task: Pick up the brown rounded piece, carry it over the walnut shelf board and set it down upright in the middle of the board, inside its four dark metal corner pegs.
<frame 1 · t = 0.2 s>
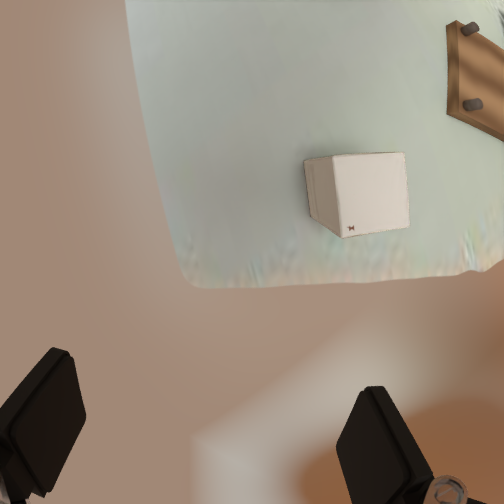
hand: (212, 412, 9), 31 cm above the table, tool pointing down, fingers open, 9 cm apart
shelf board: (483, 85, 34), on the table
supplement box: (334, 184, 38), on the table
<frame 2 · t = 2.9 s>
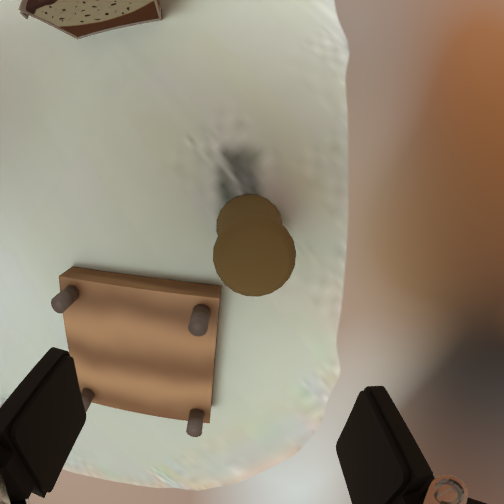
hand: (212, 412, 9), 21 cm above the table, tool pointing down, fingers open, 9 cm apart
shelf board: (142, 344, 32), on the table
food container: (120, 6, 22), on the table
brown rounded piece: (249, 226, 29), on the table
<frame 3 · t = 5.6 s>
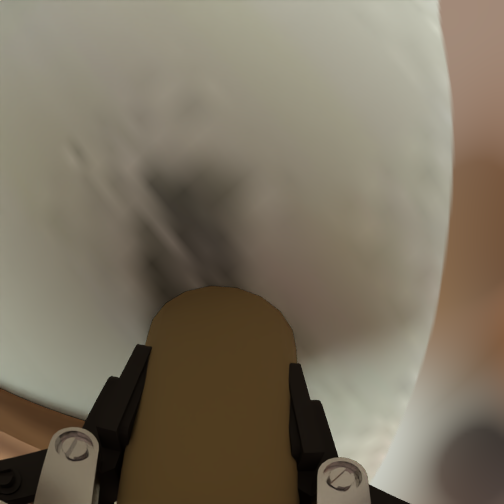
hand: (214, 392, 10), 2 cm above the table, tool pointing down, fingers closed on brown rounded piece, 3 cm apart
shelf board: (70, 477, 15), on the table
brown rounded piece: (220, 353, 12), on the table, touching gripper
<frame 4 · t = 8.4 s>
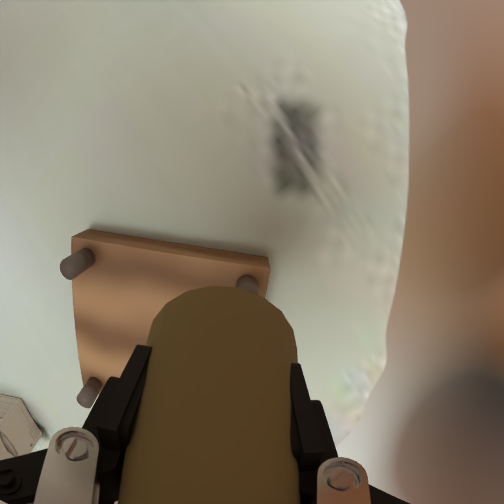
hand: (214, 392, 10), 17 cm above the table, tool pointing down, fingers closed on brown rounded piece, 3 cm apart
shelf board: (165, 326, 28), on the table
brown rounded piece: (221, 352, 12), point 14 cm above the table, touching gripper
supplement box: (18, 412, 32), on the table
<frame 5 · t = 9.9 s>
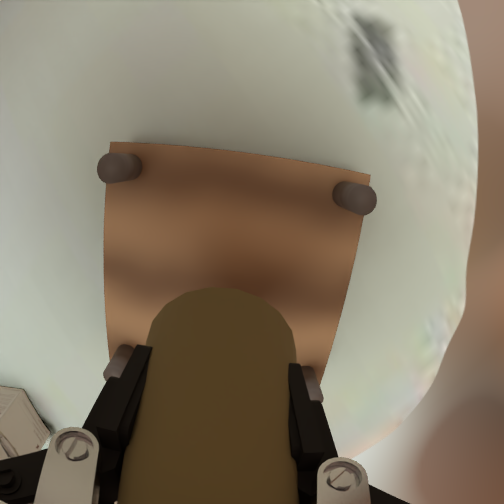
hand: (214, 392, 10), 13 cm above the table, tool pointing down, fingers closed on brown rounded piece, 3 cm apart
shelf board: (225, 268, 22), on the table
brown rounded piece: (220, 353, 12), point 11 cm above the table, touching gripper
supplement box: (19, 407, 27), on the table
when the fingers open (7 cm above the table, at t = 11.3 s): brown rounded piece drops 1 cm, resting on shelf board.
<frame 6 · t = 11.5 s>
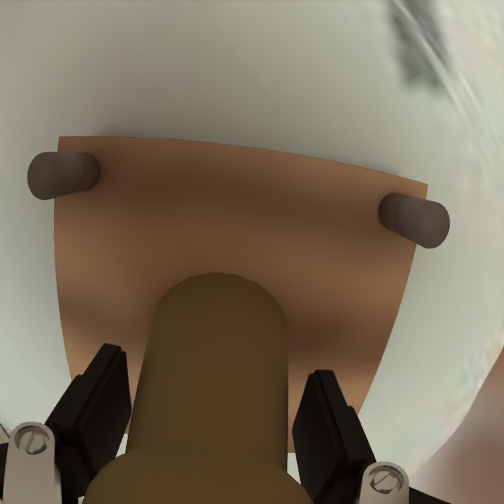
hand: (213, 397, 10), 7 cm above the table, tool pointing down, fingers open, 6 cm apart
shelf board: (223, 308, 16), on the table
brown rounded piece: (219, 334, 14), point 3 cm above the table, touching shelf board
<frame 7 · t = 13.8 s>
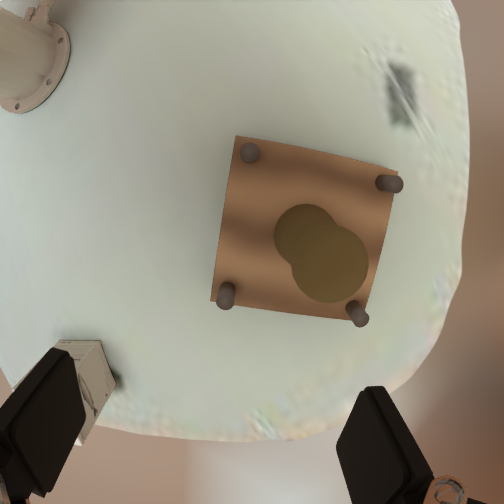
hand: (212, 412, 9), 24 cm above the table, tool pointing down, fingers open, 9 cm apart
shelf board: (301, 230, 32), on the table
brown rounded piece: (305, 235, 29), point 3 cm above the table, touching shelf board
supplement box: (88, 361, 37), on the table
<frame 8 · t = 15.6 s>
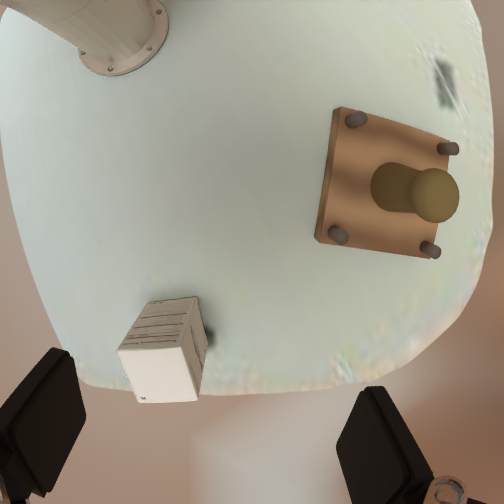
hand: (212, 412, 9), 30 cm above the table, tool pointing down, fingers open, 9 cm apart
shelf board: (382, 185, 37), on the table
brown rounded piece: (391, 186, 34), point 3 cm above the table, touching shelf board
supplement box: (177, 321, 41), on the table
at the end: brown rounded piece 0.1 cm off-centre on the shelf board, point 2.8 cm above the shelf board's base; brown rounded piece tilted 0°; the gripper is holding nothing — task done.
